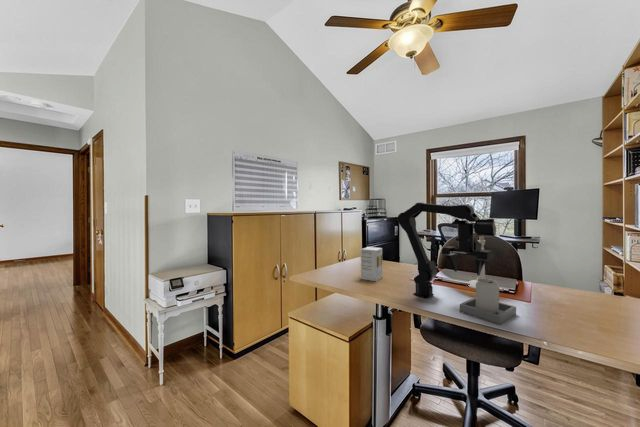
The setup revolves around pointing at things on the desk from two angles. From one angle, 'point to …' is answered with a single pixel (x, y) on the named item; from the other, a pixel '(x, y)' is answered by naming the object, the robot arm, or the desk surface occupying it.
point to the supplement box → (371, 263)
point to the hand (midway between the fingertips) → (466, 273)
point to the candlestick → (482, 274)
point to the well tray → (498, 318)
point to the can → (487, 295)
